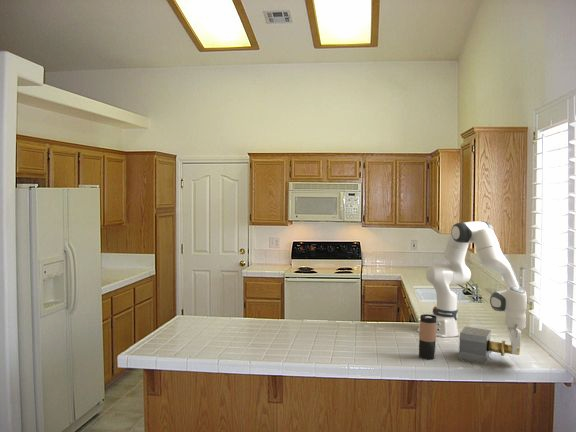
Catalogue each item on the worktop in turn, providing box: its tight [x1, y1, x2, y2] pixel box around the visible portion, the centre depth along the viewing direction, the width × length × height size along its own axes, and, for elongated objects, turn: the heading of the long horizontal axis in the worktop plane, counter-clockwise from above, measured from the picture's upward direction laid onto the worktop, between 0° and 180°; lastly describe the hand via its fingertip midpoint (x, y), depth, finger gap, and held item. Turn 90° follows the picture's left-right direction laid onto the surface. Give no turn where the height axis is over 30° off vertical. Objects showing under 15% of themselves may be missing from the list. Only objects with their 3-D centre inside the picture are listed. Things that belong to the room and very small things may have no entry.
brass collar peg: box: [487, 340, 521, 357], centre depth 250 cm, size 15×7×7 cm, turn 62°
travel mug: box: [418, 313, 437, 361], centre depth 254 cm, size 8×8×20 cm
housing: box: [458, 325, 492, 365], centre depth 256 cm, size 12×14×13 cm
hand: (513, 351), depth 248 cm, fingers closed on brass collar peg, 4 cm apart
